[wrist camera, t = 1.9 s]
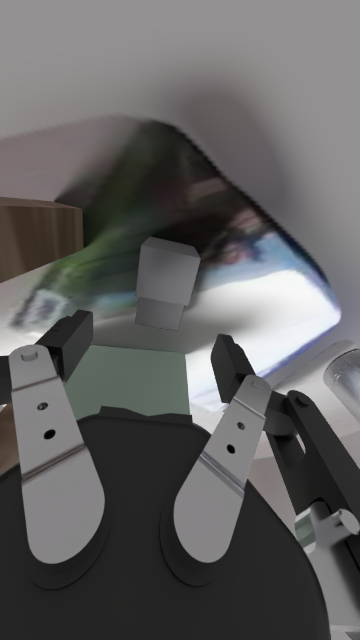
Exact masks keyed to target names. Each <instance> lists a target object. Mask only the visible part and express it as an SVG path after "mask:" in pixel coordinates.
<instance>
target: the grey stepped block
mask: <svg viewBox="0 0 360 640" xmlns="http://www.w3.org/2000/svg"><path fill="white" fill-rule="evenodd" d="M200 260H201V258H200V256H199V254H198V253H197V251H196V249H195V248H194V246H190V245H185V244H181V243H177V242H172V241H168V240H164V239H159V238H155V237H149V238H148V239H147V240H146V241H145V242H144V243H143V244H142V245H141V251H140V260H139V269H138V278H137V286H136V295H135V296H137V297H138V304H137V312H136V320H135V324H138V325H144V326H150V327H156V328H162V329H168V330H174V331H178V329H179V325H180V321H181V317H182V313H183V309H184V305H185V306H189V302H190V298H191V294H192V290H193V286H194V283H195V279H196V275H197V271H198V267H199V264H200Z"/></svg>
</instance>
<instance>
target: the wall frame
mask: <svg viewBox="0 0 360 640" xmlns="http://www.w3.org/2000/svg"><path fill="white" fill-rule="evenodd" d="M80 250H83V209H81V208H77V207H73V206H69V205H64V204H60V203H56V202H52V201H41V200H30V199H18V198H7V197H0V283H2V282H4V281H7V280H9V279H12V278H14V277H17V276H19V275H21V274H24V273H26V272H29V271H31V270H34V269H36V268H39V267H41V266H44V265H46V264H48V263H51V262H53V261H56V260H58V259H61V258H63V257H66V256H68V255H70V254H73V253H75V252H78V251H80ZM85 353H86V351H85ZM85 353H84V355H85ZM84 355H83V356H84ZM83 356H82V358H83ZM82 358H81V359H82ZM81 359H80V361H81ZM80 361H79V362H80ZM78 364H79V363H78ZM78 364H77V366H78ZM77 366H76V367H77ZM75 369H76V368H75ZM75 369H74V370H75ZM73 372H74V371H73ZM72 374H73V373H72ZM72 374H71V375H72ZM70 377H71V376H70ZM68 380H69V379H68ZM67 382H68V381H67ZM67 382H66V383H67ZM65 385H66V384H63V386H65ZM18 460H19V450H18V442H17V434H16V426H15V418H14V410H13V403H10V404H7V405H6V406H5V407H4V408H3V410H2V411H1V412H0V475H1V474H2V473H4V472H5V471H6V470H8V469H9V468H11V467H12V466H13V465H15V464H16V463H17V461H18Z"/></svg>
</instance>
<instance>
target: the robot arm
mask: <svg viewBox="0 0 360 640" xmlns="http://www.w3.org/2000/svg"><path fill="white" fill-rule="evenodd" d="M92 337H93V313H92V312H90V311H84V310H77V311H76V313H75V314H74V315H73V316H72V317H70V316H67V317H64V318H62V319H60V320H59V321H58V322H57V323H56V324H54V326H52V327H51V328H50V330H48V331H47V332H46V333H45V334H44V335H43V336H42V337H41V338H40V339H39V340H38V341H37V342H36V343H35V344H34V345H26V346H22V347H20V348H17V349H16V350H14V351H13V352H12V353H11V354H10V355H9V356H0V405H4V404H10V403H13V410H14V418H15V426H16V434H17V442H18V450H19V458H20V461H19V462H17V463H16V464H15V465H13V466H12V467H11V468H9V469H8V470H6V471H5V472H4V473H2V474H1V475H0V640H331V634H330V630H331V631H345V632H346V634H347V635H348V636H349V637H350V638H351V639H352V640H360V469H359V468H358V466H357V465H356V463H355V462H354V460H353V459H352V457H351V456H350V455H349V453H348V452H347V450H346V449H345V447H344V446H343V444H342V443H341V441H340V440H339V438H338V437H337V436H336V434H335V433H334V431H333V430H332V428H331V427H330V425H329V424H328V422H327V421H326V419H325V418H324V417H323V415H322V414H321V412H320V411H319V409H318V408H317V406H316V405H315V403H314V402H313V401H312V400H311V399H310V398H309V397H308V396H306V395H305V394H303V393H301V392H299V391H295V390H291V391H289V392H288V393H287V395H286V396H285V395H283V394H280V393H277V392H275V391H272V390H271V387H270V385H269V384H268V383H267V382H266V381H265V380H264V379H263V378H261V377H259V376H256V374H255V372H254V370H253V368H252V366H251V364H250V362H249V361H248V359H247V357H246V355H245V353H244V351H243V349H242V348H241V347H240V346H239V345H238V344H235V343H234V341H233V338H232V336H231V335H225V334H219V335H218V336H217V339H216V342H215V344H214V347H213V349H212V352H211V363H212V367H213V371H214V375H215V379H216V382H217V386H218V390H219V394H220V398H221V402H222V403H229V406H228V408H227V410H226V411H225V413H224V415H223V417H222V418H221V420H220V422H219V424H218V425H217V427H216V429H215V431H214V432H213V434H212V435H211V434H210V433H209V432H208V431H207V430H205V429H204V428H202V427H201V426H199V425H197V424H195V423H193V422H192V415H187V414H177V413H166V414H159V415H152V416H146V415H143V414H140V413H137V412H134V411H132V410H129V409H126V408H119V407H109V406H101V409H100V411H99V413H97V414H92V415H88V416H85V417H83V418H81V419H78V420H76V419H75V417H74V414H73V411H72V408H71V406H70V403H69V400H68V397H67V395H66V392H65V389H64V386H63V384H66V382H67V381H68V379H69V378H70V376H71V374H72V373H73V371H74V369H75V368H76V366H77V364H78V363H79V361H80V359H81V358H82V356H83V355H84V353H85V351H86V350H87V348H88V346H89V345H90V343H91V341H92ZM324 381H325V384H326V385H327V386H328V388H329V389H330V390H331V391H332V392H333V393H334V394H335V395H336V397H337V398H338V399H339V400H340V401H341V402H342V403H343V405H344V406H345V407H346V408H347V409H348V410H349V412H350V413H351V414H352V415H353V416H354V417H355V418H356V419H357V421H358V422H359V423H360V349H359V350H355V351H351V352H349V353H347V354H344V355H343V356H341V357H339V358H338V359H336V360H335V361H334V362H333V363H332V364H331V365H330V366H329V367H328V369H327V370H326V372H325V375H324ZM262 430H263V431H265V432H266V435H267V437H268V440H269V443H270V445H271V448H272V451H273V453H274V456H275V459H276V462H277V464H278V467H279V470H280V472H281V475H282V478H283V480H284V483H285V486H286V488H287V491H288V494H289V497H290V499H291V502H292V505H293V507H294V510H295V513H296V515H297V517H296V519H295V532H296V536H297V537H296V538H295V536H294V535H293V534H292V533H291V531H290V530H289V529H288V528H287V527H286V525H285V524H284V523H283V522H282V520H281V519H280V518H279V517H278V516H277V514H276V513H275V512H274V511H273V509H272V508H271V507H270V506H269V504H268V503H267V502H266V501H265V499H264V498H263V497H262V496H261V495H260V493H259V492H258V491H257V490H256V488H255V487H254V486H253V485H252V483H251V482H250V481H249V480H248V479H247V477H248V474H249V471H250V468H251V465H252V461H253V458H254V455H255V452H256V449H257V445H258V442H259V439H260V436H261V433H262ZM297 434H299V436H300V437H301V439H302V441H303V443H304V446H305V450H306V453H305V454H304V452H303V450H302V448H301V446H300V444H299V442H298V440H297V438H296V435H297Z"/></svg>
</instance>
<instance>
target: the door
mask: <svg viewBox="0 0 360 640" xmlns="http://www.w3.org/2000/svg"><path fill="white" fill-rule="evenodd" d="M64 389H65V392H66V395H67V397H68V400H69V403H70V406H71V408H72V411H73V414H74V417H75V419H76V420H78V419H81V418H83V417H85V416H88V415H92V414H97V413H99V411H100V409H101V406H109V407H119V408H126V409H129V410H132V411H134V412H137V413H140V414H143V415H146V416H152V415H159V414H166V413H177V414H187V415H190V410H189V397H188V384H187V372H186V359H185V353H180V352H168V351H156V350H143V349H131V348H119V347H107V346H95V345H90V347H89V348H88V350H87V351H86V353H85V355H84V356H83V358H82V359H81V361H80V362H79V364H78V366H77V367H76V369H75V370H74V372H73V374H72V375H71V377H70V378H69V380H68V382H67V383H66V385H65V386H64ZM19 461H20V458H19V460H18V461H17V462H19Z"/></svg>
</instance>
